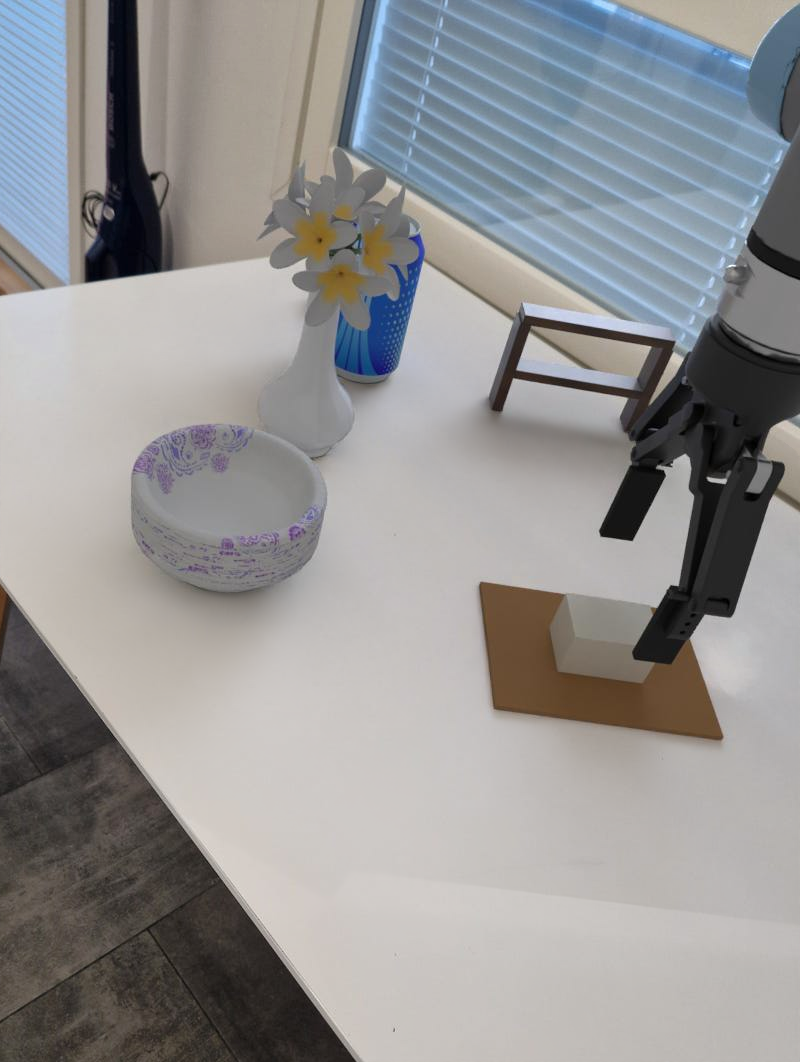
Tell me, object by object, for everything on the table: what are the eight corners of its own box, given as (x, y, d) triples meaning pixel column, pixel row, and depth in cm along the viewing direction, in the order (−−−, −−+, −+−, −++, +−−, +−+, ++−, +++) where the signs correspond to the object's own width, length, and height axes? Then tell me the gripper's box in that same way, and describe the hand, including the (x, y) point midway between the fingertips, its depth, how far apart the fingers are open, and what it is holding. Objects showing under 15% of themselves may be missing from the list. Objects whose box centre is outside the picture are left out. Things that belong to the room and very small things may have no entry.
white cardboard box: (630, 639, 75) (649, 604, 72) (642, 683, 71) (663, 649, 68) (548, 627, 74) (565, 592, 71) (557, 671, 71) (575, 636, 68)
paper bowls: (252, 647, 68) (264, 570, 62) (91, 563, 72) (88, 482, 66) (345, 546, 78) (362, 471, 72) (199, 476, 82) (205, 399, 76)
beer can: (341, 339, 104) (367, 196, 93) (407, 365, 102) (442, 222, 91) (309, 368, 98) (333, 219, 87) (378, 395, 96) (412, 247, 85)
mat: (678, 614, 79) (680, 611, 78) (721, 740, 69) (724, 737, 69) (479, 584, 77) (480, 581, 77) (494, 709, 67) (495, 705, 67)
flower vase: (257, 504, 80) (295, 219, 62) (227, 392, 92) (251, 126, 74) (394, 502, 84) (467, 232, 66) (348, 394, 96) (399, 141, 78)
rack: (629, 418, 102) (671, 328, 94) (634, 433, 100) (678, 341, 92) (489, 395, 100) (519, 301, 93) (491, 409, 98) (523, 314, 90)
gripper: (664, 237, 61) (560, 487, 76) (777, 441, 44) (614, 713, 59) (769, 254, 62) (645, 500, 77) (922, 464, 44) (723, 728, 60)
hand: (631, 593), depth 68 cm, fingers open, 13 cm apart
